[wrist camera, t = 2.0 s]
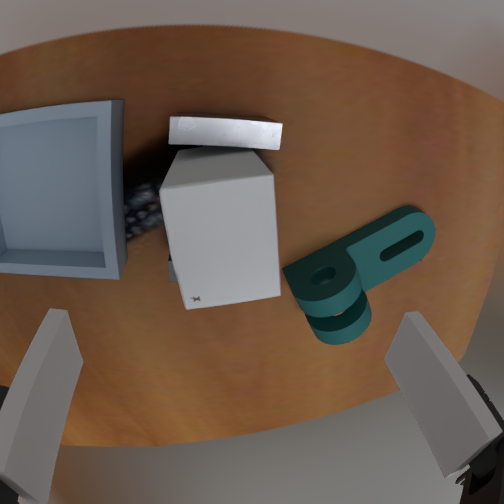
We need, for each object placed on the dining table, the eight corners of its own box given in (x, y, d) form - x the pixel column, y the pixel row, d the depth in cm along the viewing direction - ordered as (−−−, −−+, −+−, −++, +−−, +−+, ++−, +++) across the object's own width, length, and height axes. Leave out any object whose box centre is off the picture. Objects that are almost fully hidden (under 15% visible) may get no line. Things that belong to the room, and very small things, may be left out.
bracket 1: (174, 249, 32) (168, 281, 27) (177, 112, 26) (170, 116, 21) (252, 251, 33) (261, 283, 28) (267, 117, 27) (282, 123, 22)
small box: (254, 220, 32) (283, 299, 20) (190, 229, 31) (183, 313, 20) (246, 139, 28) (276, 173, 16) (176, 148, 27) (154, 189, 16)
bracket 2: (304, 308, 38) (323, 354, 31) (281, 267, 35) (300, 312, 28) (428, 241, 36) (465, 273, 29) (419, 195, 33) (461, 223, 26)
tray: (6, 254, 29) (-10, 271, 26) (-12, 116, 22) (-34, 122, 18) (127, 258, 32) (119, 279, 28) (124, 99, 24) (111, 100, 21)
